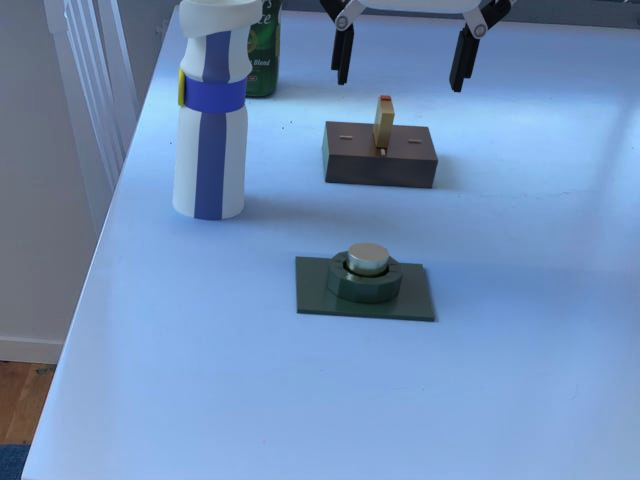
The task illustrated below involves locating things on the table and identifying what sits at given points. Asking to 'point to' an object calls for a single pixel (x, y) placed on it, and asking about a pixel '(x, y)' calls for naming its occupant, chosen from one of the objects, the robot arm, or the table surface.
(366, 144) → the lock plate
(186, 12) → the water bottle
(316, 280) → the dark green button base
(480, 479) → the table surface
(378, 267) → the bell button
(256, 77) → the coffee jar
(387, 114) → the lock knob
